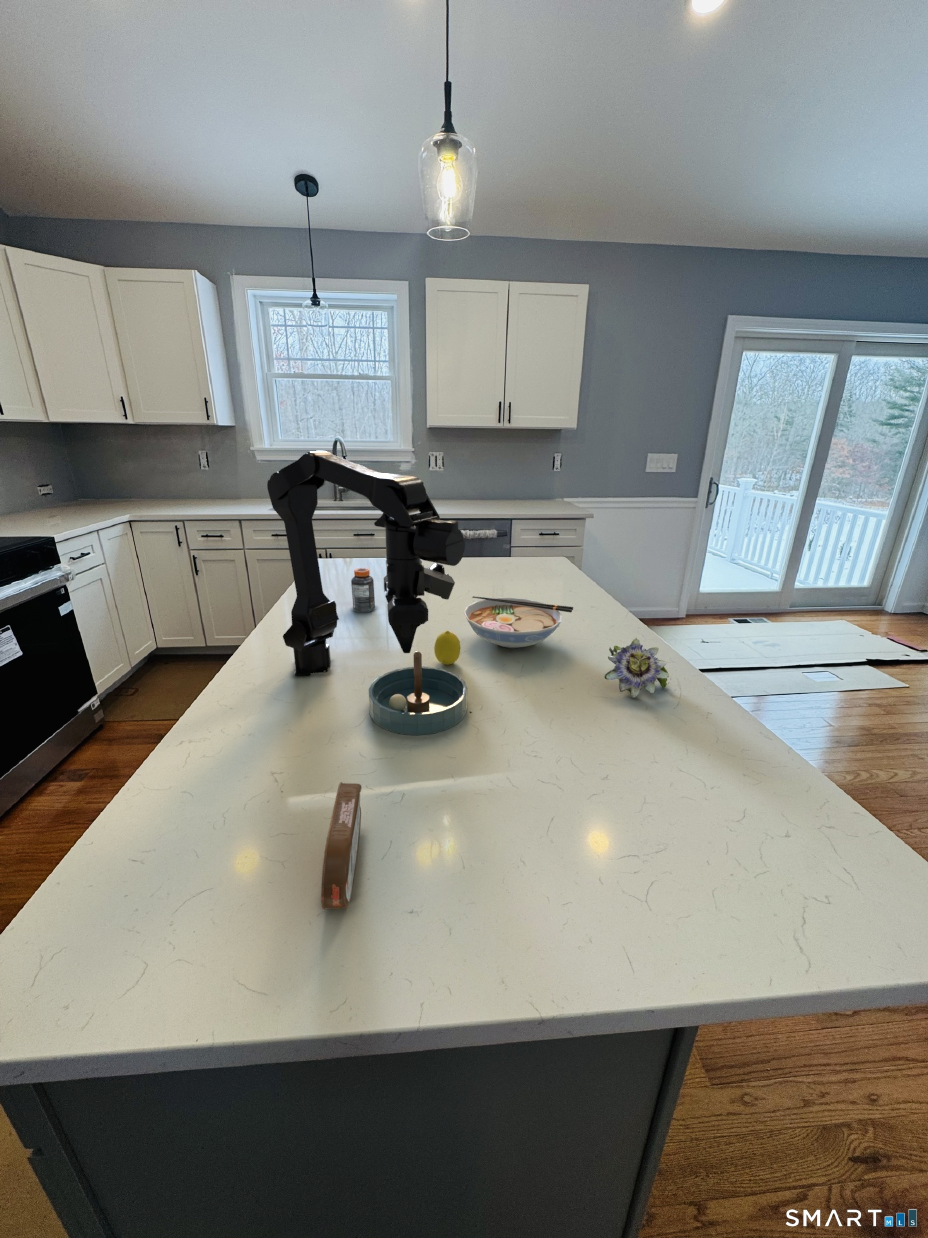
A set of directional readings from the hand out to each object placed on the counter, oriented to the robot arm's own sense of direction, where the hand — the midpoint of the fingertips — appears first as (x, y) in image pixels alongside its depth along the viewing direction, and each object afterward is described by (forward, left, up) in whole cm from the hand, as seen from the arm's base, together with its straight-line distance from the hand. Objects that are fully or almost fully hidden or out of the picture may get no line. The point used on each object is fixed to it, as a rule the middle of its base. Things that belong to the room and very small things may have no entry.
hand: (404, 641), depth 90 cm
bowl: (+2, -4, -12) cm, 13 cm away
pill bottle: (-7, +51, -12) cm, 53 cm away
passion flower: (+45, -2, -12) cm, 47 cm away
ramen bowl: (+27, +23, -12) cm, 38 cm away
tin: (-10, -37, -12) cm, 40 cm away
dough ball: (-1, -4, -9) cm, 10 cm away
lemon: (+10, +13, -12) cm, 21 cm away
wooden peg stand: (+2, -4, -12) cm, 12 cm away
